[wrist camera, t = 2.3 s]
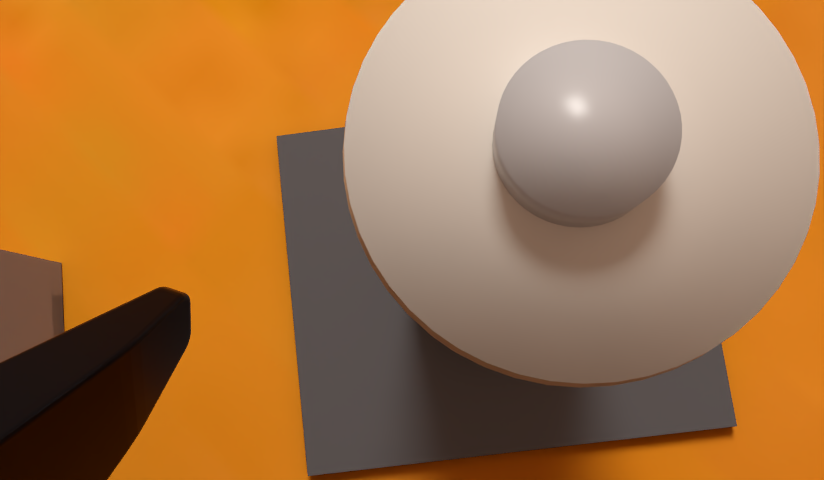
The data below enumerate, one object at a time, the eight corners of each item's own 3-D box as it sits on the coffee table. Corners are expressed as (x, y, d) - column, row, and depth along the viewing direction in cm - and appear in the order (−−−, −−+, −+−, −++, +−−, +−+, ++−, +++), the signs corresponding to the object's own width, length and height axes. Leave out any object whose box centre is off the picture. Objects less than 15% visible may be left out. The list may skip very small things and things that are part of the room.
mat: (732, 425, 20) (737, 426, 19) (309, 474, 20) (307, 475, 20) (669, 87, 21) (672, 83, 21) (279, 138, 22) (276, 136, 21)
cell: (597, 351, 20) (913, 357, 6) (419, 373, 20) (358, 423, 7) (569, 177, 21) (797, -144, 7) (398, 199, 21) (307, -74, 7)
